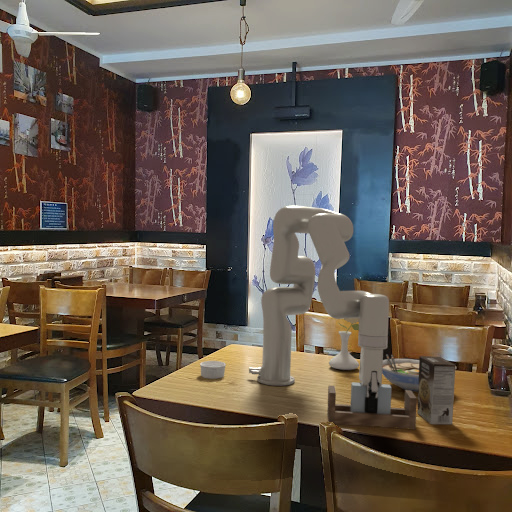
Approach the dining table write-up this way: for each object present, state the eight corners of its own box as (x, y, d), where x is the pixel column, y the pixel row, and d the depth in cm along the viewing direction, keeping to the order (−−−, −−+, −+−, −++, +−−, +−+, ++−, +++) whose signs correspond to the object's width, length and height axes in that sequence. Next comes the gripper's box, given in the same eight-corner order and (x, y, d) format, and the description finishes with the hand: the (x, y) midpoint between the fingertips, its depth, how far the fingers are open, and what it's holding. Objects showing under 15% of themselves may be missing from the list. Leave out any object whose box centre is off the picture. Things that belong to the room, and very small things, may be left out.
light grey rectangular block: (351, 415, 132) (352, 385, 132) (350, 411, 135) (351, 382, 135) (390, 418, 131) (391, 387, 131) (388, 414, 134) (389, 384, 134)
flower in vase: (323, 369, 188) (326, 302, 188) (335, 363, 198) (337, 300, 198) (356, 374, 182) (359, 305, 181) (367, 368, 191) (370, 303, 191)
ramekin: (224, 380, 169) (224, 367, 169) (198, 379, 169) (198, 366, 169) (226, 373, 178) (226, 361, 178) (201, 372, 178) (201, 360, 178)
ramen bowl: (456, 403, 151) (457, 376, 151) (378, 396, 156) (379, 370, 156) (442, 381, 176) (443, 358, 176) (375, 376, 180) (376, 353, 180)
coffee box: (416, 412, 141) (418, 355, 141) (438, 413, 142) (440, 356, 142) (430, 424, 132) (432, 363, 132) (453, 424, 133) (456, 363, 132)
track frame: (328, 423, 131) (329, 392, 130) (327, 414, 138) (328, 385, 137) (415, 429, 128) (416, 398, 128) (409, 419, 135) (411, 390, 135)
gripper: (355, 334, 141) (352, 400, 142) (361, 346, 125) (358, 420, 125) (382, 336, 140) (379, 401, 141) (392, 348, 124) (389, 422, 124)
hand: (370, 409), depth 133 cm, fingers closed on light grey rectangular block, 3 cm apart
